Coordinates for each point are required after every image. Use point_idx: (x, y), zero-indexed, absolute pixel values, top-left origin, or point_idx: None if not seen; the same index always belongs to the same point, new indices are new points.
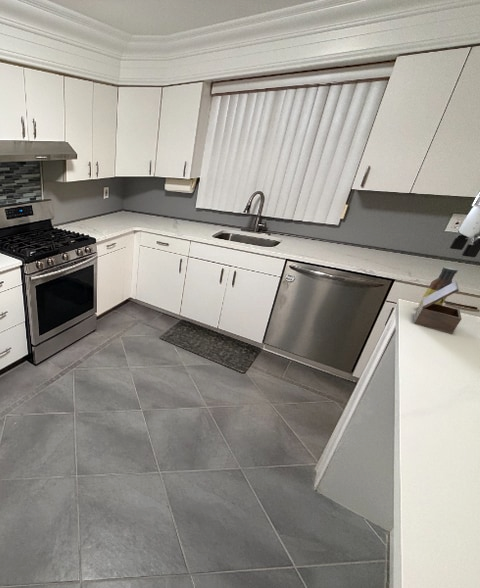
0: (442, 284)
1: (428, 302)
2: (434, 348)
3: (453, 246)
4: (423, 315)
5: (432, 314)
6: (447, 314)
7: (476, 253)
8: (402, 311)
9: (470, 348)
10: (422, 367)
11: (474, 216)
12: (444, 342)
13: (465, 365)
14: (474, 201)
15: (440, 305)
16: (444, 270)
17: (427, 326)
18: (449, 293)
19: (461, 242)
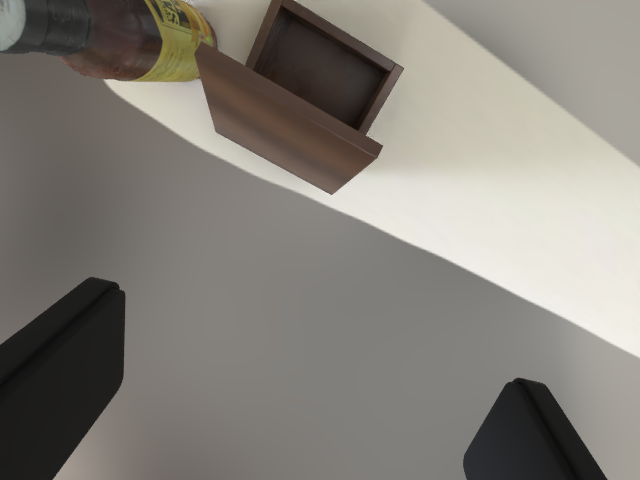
0: (128, 49)
1: (320, 181)
2: (522, 211)
3: (104, 397)
4: None
5: None
6: (278, 32)
7: (568, 437)
8: (227, 153)
9: (503, 75)
10: (635, 309)
11: None
12: (472, 148)
13: (621, 180)
14: None
15: (254, 69)
16: (23, 51)
17: None
18: (364, 166)
19: (44, 420)
